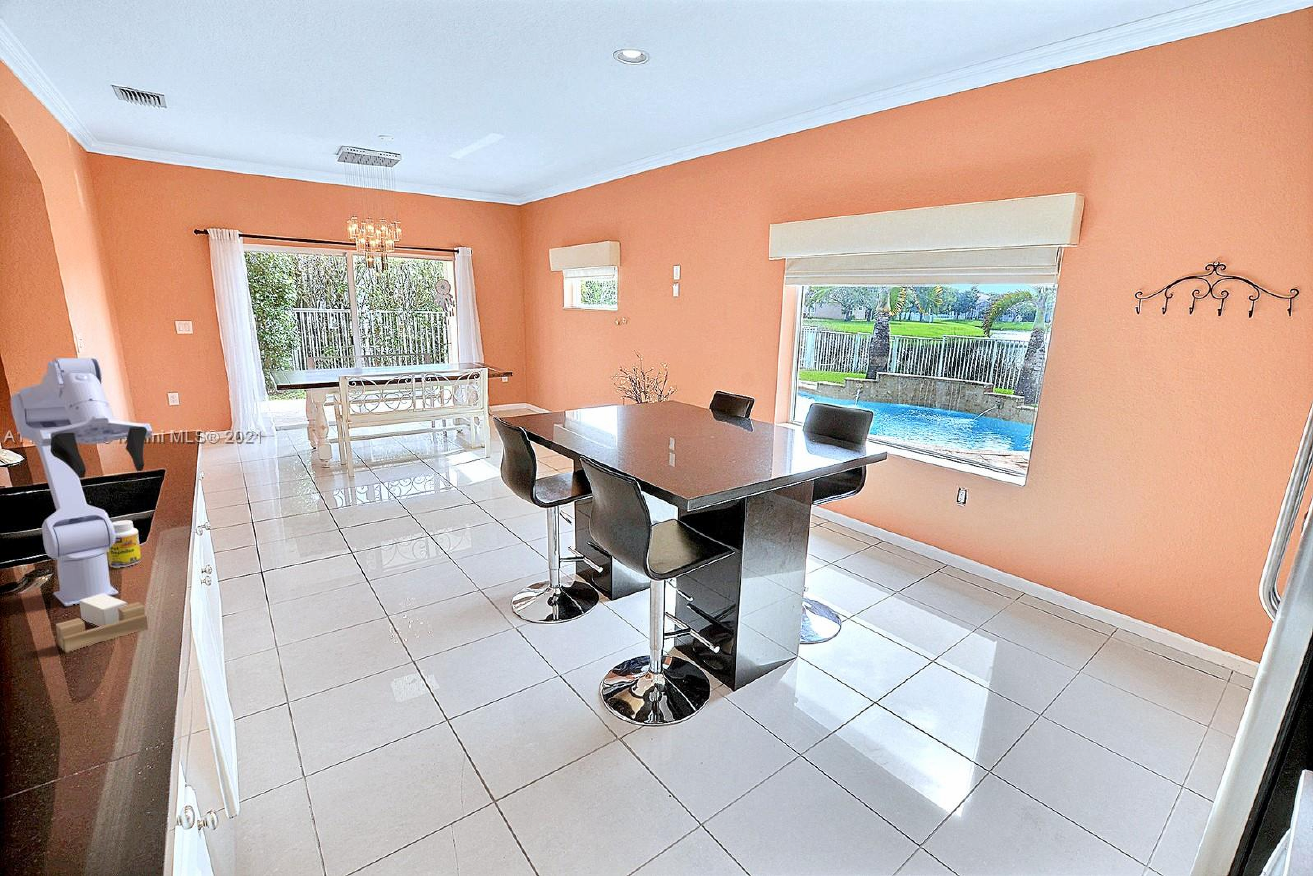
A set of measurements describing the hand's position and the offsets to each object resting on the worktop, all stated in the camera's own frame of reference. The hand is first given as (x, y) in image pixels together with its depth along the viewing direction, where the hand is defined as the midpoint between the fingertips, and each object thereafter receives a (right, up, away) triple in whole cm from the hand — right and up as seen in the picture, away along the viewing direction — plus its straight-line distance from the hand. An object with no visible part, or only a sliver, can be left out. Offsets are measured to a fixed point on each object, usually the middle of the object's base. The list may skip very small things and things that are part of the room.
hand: (112, 470), depth 102 cm
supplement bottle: (-30, -24, +37) cm, 53 cm away
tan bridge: (-6, -30, +5) cm, 31 cm away
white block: (-11, -29, +10) cm, 33 cm away
